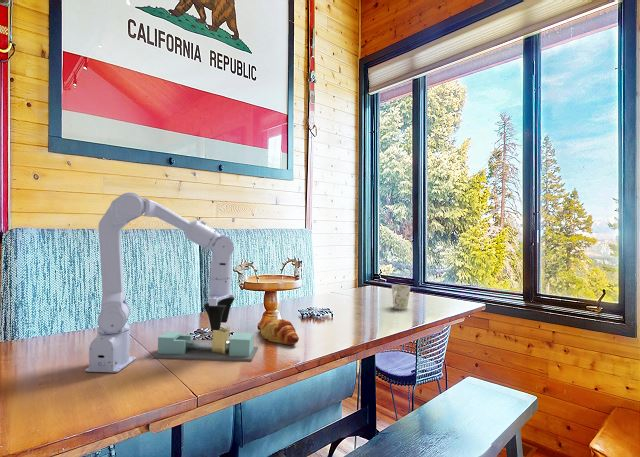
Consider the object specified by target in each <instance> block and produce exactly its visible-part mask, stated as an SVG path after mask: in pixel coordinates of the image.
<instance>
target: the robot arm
mask: <svg viewBox="0 0 640 457" xmlns="http://www.w3.org/2000/svg"><path fill="white" fill-rule="evenodd" d="M141 216H143V217H150V218H158V219H159V220H161V221H164V222H166V223H167V224H169V225H171V226H173V227H174V228H176V229H179V230H181V231H183V232H184V235H185V238H186V239H187V240H189V241H191V242H192V243H194V244H196V245H198V246H199V247H202V248H204V249H205V250H210V251H211V261H210V278H209V293H208V298H209V299H208V303H204V304H203V308H204V310H205V312H206V314H207V317H208V320H209V321H208V322H209V324H210V325H209V326H210V330H211V331H213V330H219V329H220V328H221V325H222V324H223V323H225V324H227V322H228V319H229V315H230V310H231V307H232V305H233V303H234V301H235V297H236V293H233V292H232V266H233V265H232V264H233V263H232V253H234V250H235V245H234V243H233V241H232V239H231V238H230V237H228V236H226V235H225V234H222V231H221V230H215V229H213V228H212V227H210V226H209V225H206V224H207V222H205V221H204V220H201V221H200V220H197V219H196V220H192V221H190V220H188V219H186V218H184V217H183V216H181V215H179V214H177V213H176V212H174V211H172V210H171V209H170V208H167V207H166V206H165V205H162V204H160V203H159V202H157V201H153V200H151V199H148V198H146V197H144V196H143V197H141V196H140V195H139V194H137V193H135V192H124V193H122V194H120V195H119V196H118V197H116V198H114V199H113V200H112V201H111V203H110V205H109V207H108V208H107V209H106V211H105V213H104V215H103V216H102V217H101V219H100V220H99V222H98V241H99V257H100V273H101V287H102V288H101V289H102V291H101V292H102V293H101V294H102V296H101V302H100V312H99V314H98V317H97V325H98V328H97V335H96V337H95V338H94V339H93V340H92V341H91V342H90V344H89V346H88V347H89V350H88V367H87V368H85V369H84V371H85V372H87V373H89V372H90V373H91V372H93V373H94V372H95V373H119V372H120V371H122V370H123V369H125V367H127V366H128V365H130V364H131V363H132V362H134V361H135V360H137V356H130V348H131V347H130V346H131V344H130V342H131V325H129V323H128V322H127V321H128V320H127V319H128V318H129V316H130V314H131V309H130V305H129V304H128V303H127V301H126V295H125V294H126V293H125V289H124V288H125V287H124V274H123V273H124V271H123V255H122V253H123V252H122V240H121V239H122V237H121V236H122V234H121V231H122V229H124V228H125V227H126V226H127V225H128V224H129V223H130V222H131V221H133V220H136V219H138V218H139V217H141Z"/></svg>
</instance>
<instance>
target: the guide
mask: <svg viewBox="0 0 640 457" xmlns="http://www.w3.org/2000/svg"><path fill="white" fill-rule="evenodd" d="M182 333H183V332H182V331H174V330H172V331H170V330H167V331H165V332H163V333H162V334H161V335H159V336H158V337H157V352H156V354H154V355H153V359H167V360H169V359H171V360H195V361H196V360H197V361H202V360H203V361H205V360H206V361H225V362H226V361H227V362H228V361H230V362H231V361H232V362H233V361H234V362H235V361H236V362H252V361H253V360H254V357H255V356H256V353H257V351H258V349H259V347H258V346H255V344H254V343H255V342H254V338H255V333H254V332H234V333H233V334H232V336H231V337H229V341H230V346H229V351H227V352H226V353H225V354H222V353H217V352H212V351H201V350H186V340H193V337H192V336H193V335H192V334H185V333H184V334H182Z"/></svg>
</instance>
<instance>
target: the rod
mask: <svg viewBox="0 0 640 457" xmlns="http://www.w3.org/2000/svg"><path fill="white" fill-rule="evenodd" d="M230 331H231V330H230V327H226V328H222V327H220V329H219V330H212V340H211V339H210V340H209V339H207V340H206V339H192V340H186V350H201V351H212V352H217V353H222V354H225V353H226V352H227V351H229V346H230Z"/></svg>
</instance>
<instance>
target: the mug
mask: <svg viewBox="0 0 640 457" xmlns="http://www.w3.org/2000/svg"><path fill="white" fill-rule="evenodd" d="M410 292H411V286H410V285H407V284H392V285H391V295H392V305H393V308H394V309H395V310H402V311H403V310H408V304H409V298H410Z"/></svg>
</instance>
